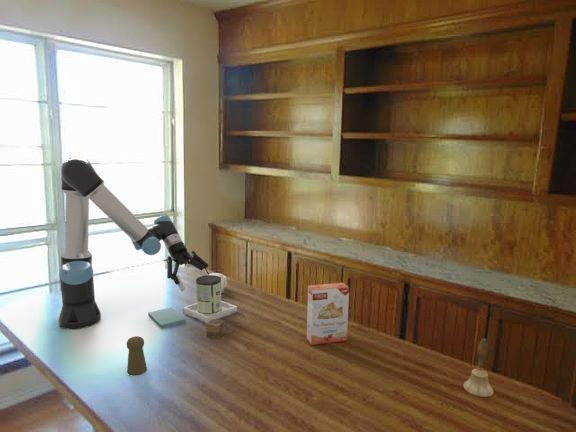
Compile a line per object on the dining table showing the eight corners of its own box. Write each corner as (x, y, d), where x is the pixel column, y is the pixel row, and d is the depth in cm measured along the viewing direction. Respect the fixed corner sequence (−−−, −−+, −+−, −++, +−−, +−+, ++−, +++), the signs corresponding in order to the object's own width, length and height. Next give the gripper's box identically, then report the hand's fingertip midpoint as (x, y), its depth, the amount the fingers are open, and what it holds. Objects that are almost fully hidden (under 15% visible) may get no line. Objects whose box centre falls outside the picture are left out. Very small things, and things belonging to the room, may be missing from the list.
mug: (214, 295, 201) (213, 279, 200) (203, 291, 207) (203, 275, 205) (230, 290, 209) (229, 274, 207) (219, 286, 214) (218, 271, 213)
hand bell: (485, 381, 132) (489, 332, 129) (499, 397, 124) (504, 345, 121) (458, 381, 131) (462, 332, 129) (470, 397, 123) (475, 345, 120)
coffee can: (201, 305, 187) (200, 274, 185) (224, 306, 186) (223, 275, 184) (193, 315, 177) (192, 282, 175) (218, 316, 176) (217, 283, 174)
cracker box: (311, 346, 153) (312, 290, 149) (306, 338, 159) (307, 284, 155) (348, 341, 157) (349, 286, 153) (341, 334, 162) (343, 281, 159)
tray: (207, 323, 171) (207, 317, 170) (183, 313, 181) (182, 307, 181) (237, 311, 183) (236, 306, 182) (212, 302, 193) (212, 297, 193)
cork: (140, 363, 140) (138, 332, 138) (150, 370, 137) (149, 337, 135) (123, 371, 136) (121, 338, 134) (133, 378, 132) (131, 344, 130)
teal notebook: (161, 330, 166) (161, 325, 166) (148, 317, 178) (148, 312, 178) (185, 323, 172) (185, 318, 172) (171, 311, 184) (171, 307, 184)
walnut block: (218, 338, 158) (218, 326, 158) (206, 336, 160) (206, 324, 159) (225, 333, 163) (224, 320, 162) (213, 331, 165) (213, 318, 164)
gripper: (153, 246, 181) (175, 288, 174) (201, 236, 199) (223, 275, 192) (147, 256, 185) (168, 297, 178) (195, 246, 204) (215, 283, 196)
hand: (196, 286), depth 185 cm, fingers open, 13 cm apart
